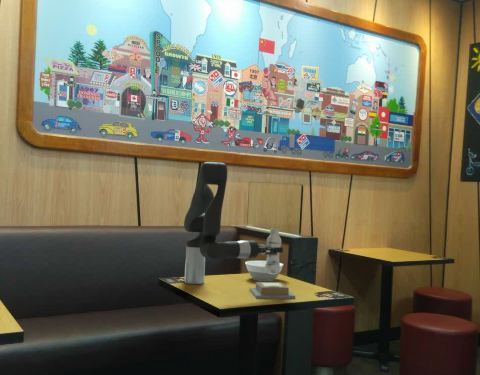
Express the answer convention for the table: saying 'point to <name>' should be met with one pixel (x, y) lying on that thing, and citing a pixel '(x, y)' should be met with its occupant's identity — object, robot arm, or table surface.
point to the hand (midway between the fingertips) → (277, 248)
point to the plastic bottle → (273, 259)
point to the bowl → (260, 271)
